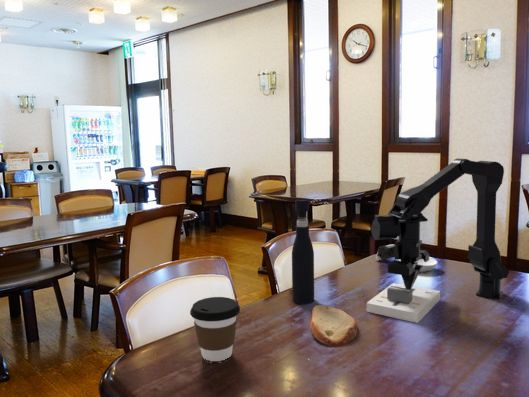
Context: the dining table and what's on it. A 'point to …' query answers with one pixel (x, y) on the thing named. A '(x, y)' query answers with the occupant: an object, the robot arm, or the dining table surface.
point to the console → (404, 304)
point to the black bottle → (302, 258)
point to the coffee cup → (215, 326)
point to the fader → (399, 294)
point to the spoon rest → (421, 263)
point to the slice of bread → (332, 326)
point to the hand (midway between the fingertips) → (408, 290)
